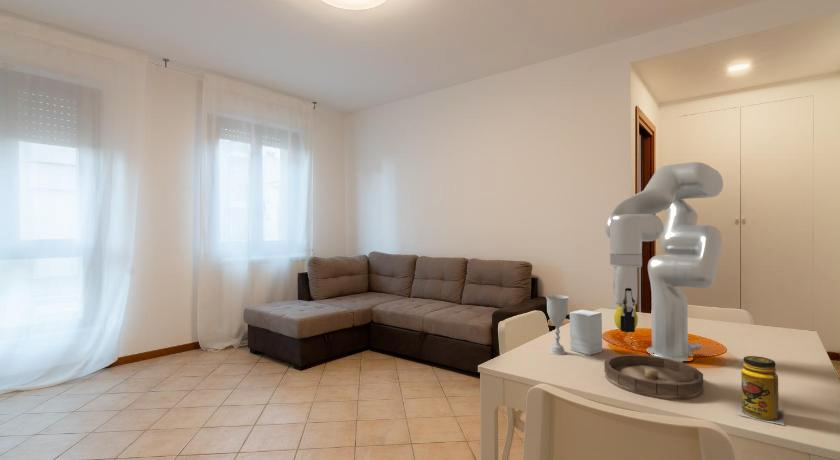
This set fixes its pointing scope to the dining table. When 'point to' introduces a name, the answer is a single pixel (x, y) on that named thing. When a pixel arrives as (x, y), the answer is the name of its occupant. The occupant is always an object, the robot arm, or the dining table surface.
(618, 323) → the lemon
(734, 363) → the dining table surface
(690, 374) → the groove tray
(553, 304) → the chalice
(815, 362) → the dining table surface
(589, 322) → the supplement box
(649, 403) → the dining table surface
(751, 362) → the condiment
